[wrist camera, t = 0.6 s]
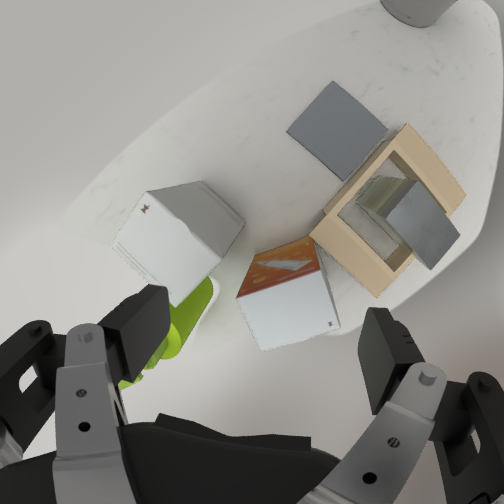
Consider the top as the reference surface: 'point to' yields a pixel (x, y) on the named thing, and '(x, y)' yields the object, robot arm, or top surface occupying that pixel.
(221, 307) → the top surface
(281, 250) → the small box
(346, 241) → the wooden rectangular frame
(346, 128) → the mat
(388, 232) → the tea tin
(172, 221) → the skincare box
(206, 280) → the soap dispenser
